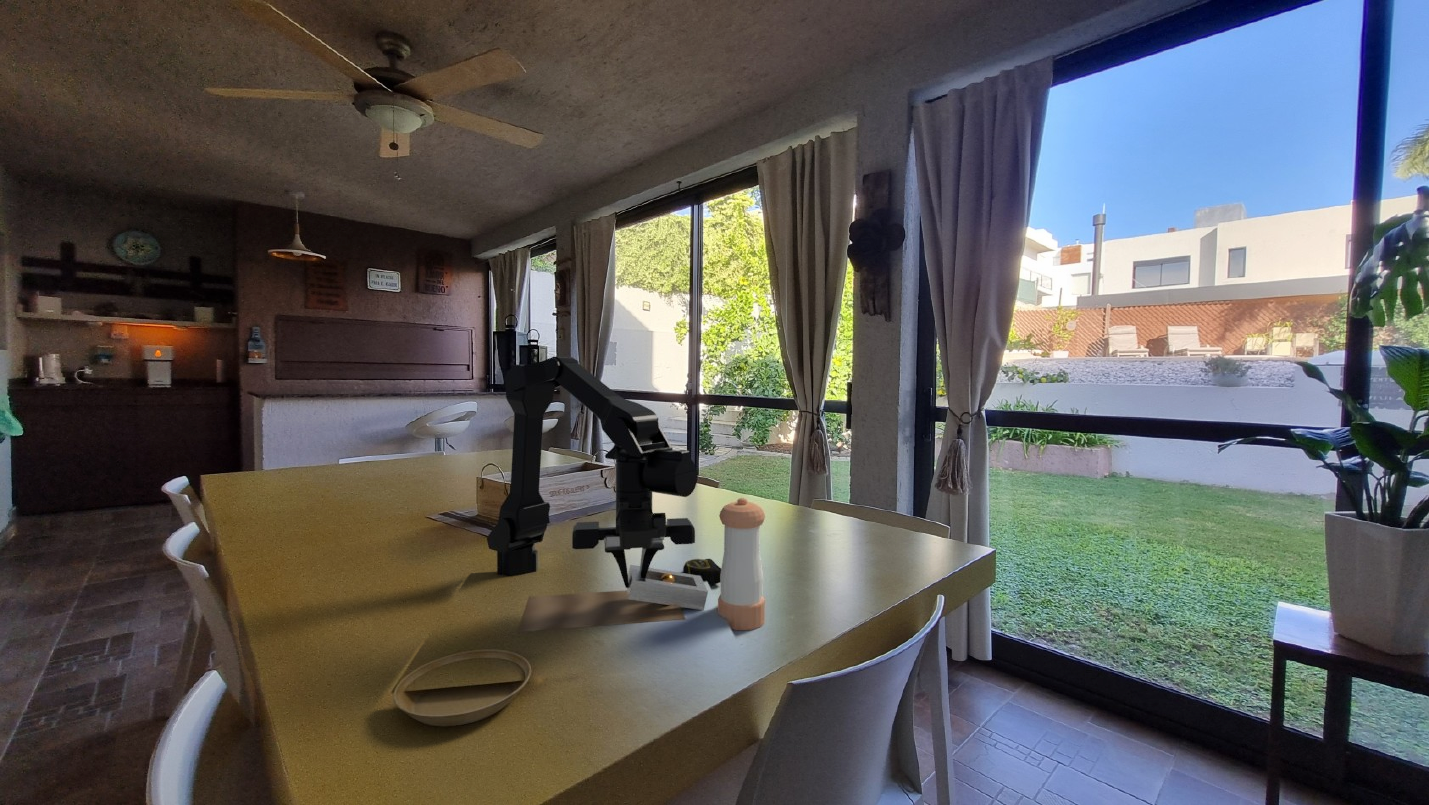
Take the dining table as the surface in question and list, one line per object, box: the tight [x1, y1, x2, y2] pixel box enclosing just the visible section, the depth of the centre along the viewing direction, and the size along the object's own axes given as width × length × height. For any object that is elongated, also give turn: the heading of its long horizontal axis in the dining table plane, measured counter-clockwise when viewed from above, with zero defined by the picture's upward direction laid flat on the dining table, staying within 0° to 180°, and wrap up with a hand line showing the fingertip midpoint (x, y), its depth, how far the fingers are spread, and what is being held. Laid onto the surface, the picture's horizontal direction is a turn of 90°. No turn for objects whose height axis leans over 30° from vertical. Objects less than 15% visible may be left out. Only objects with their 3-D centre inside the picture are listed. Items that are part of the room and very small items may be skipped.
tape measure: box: [682, 558, 722, 586], centre depth 105 cm, size 7×7×4 cm
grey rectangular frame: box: [626, 564, 709, 611], centre depth 92 cm, size 12×7×3 cm, turn 101°
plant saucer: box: [393, 649, 532, 727], centre depth 67 cm, size 15×15×3 cm
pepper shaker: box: [717, 497, 766, 631], centre depth 89 cm, size 7×7×19 cm
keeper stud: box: [660, 574, 675, 606], centre depth 92 cm, size 2×2×5 cm
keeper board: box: [517, 589, 686, 633], centre depth 90 cm, size 24×13×2 cm, turn 101°
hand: (633, 586), depth 91 cm, fingers closed on grey rectangular frame, 2 cm apart
